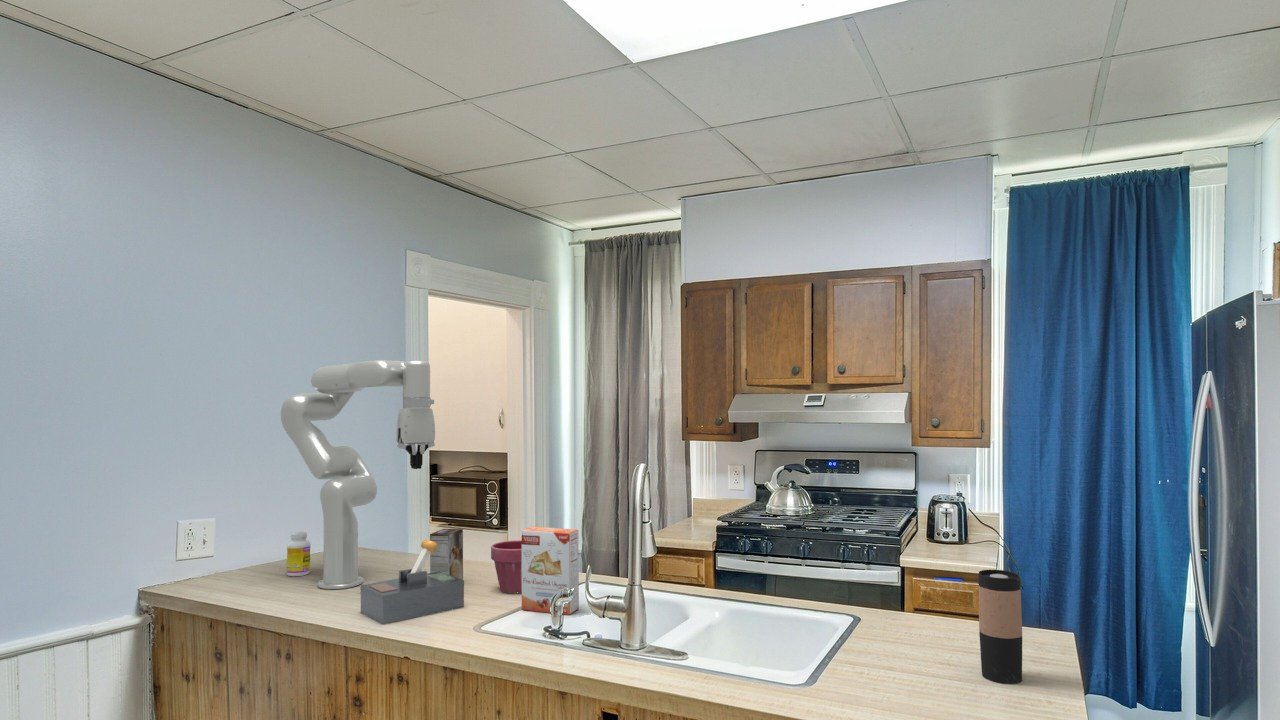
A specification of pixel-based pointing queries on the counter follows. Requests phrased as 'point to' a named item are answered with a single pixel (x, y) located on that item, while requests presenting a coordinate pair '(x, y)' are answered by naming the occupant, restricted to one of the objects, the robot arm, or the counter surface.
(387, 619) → the breaker box
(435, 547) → the breaker lever
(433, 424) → the robot arm
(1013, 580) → the travel mug
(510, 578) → the plant pot
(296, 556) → the supplement bottle
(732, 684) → the counter surface
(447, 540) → the coffee box
